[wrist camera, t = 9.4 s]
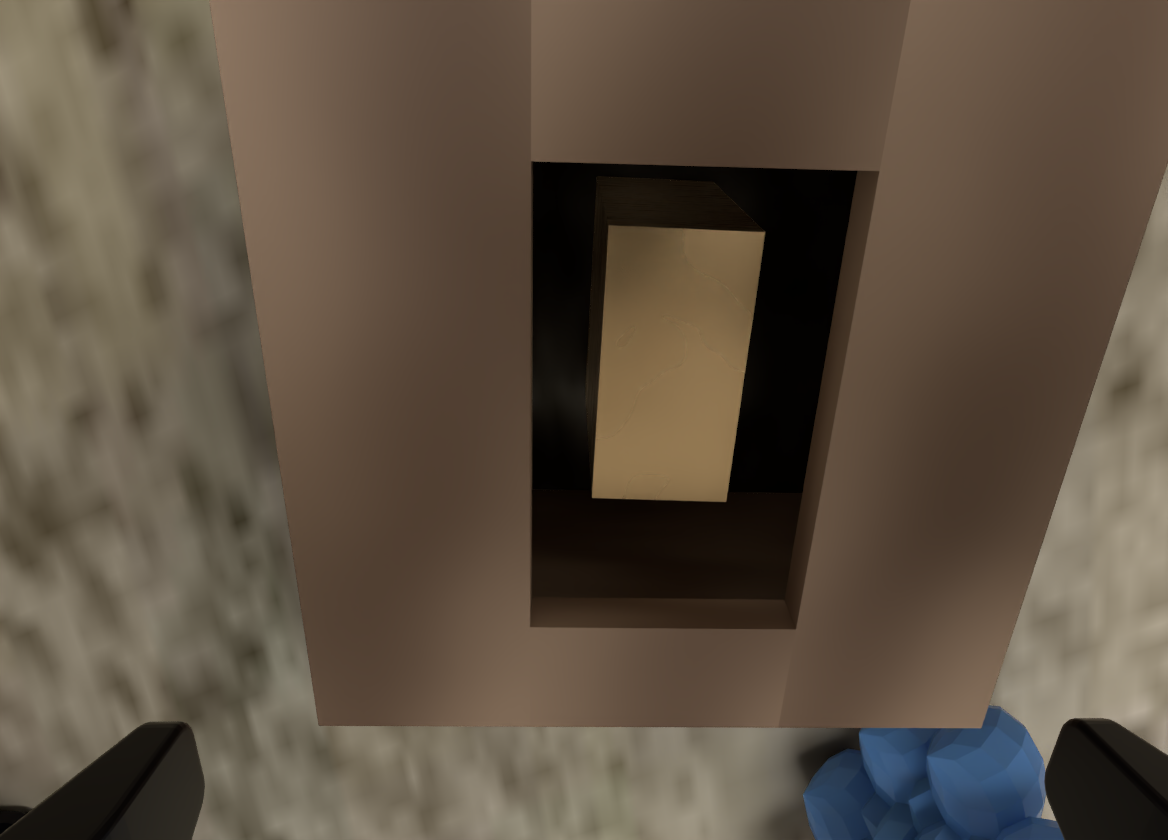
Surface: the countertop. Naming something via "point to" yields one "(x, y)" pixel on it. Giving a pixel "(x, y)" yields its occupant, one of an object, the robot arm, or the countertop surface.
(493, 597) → the box
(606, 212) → the tan flat block
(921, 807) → the grapes
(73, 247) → the countertop surface
